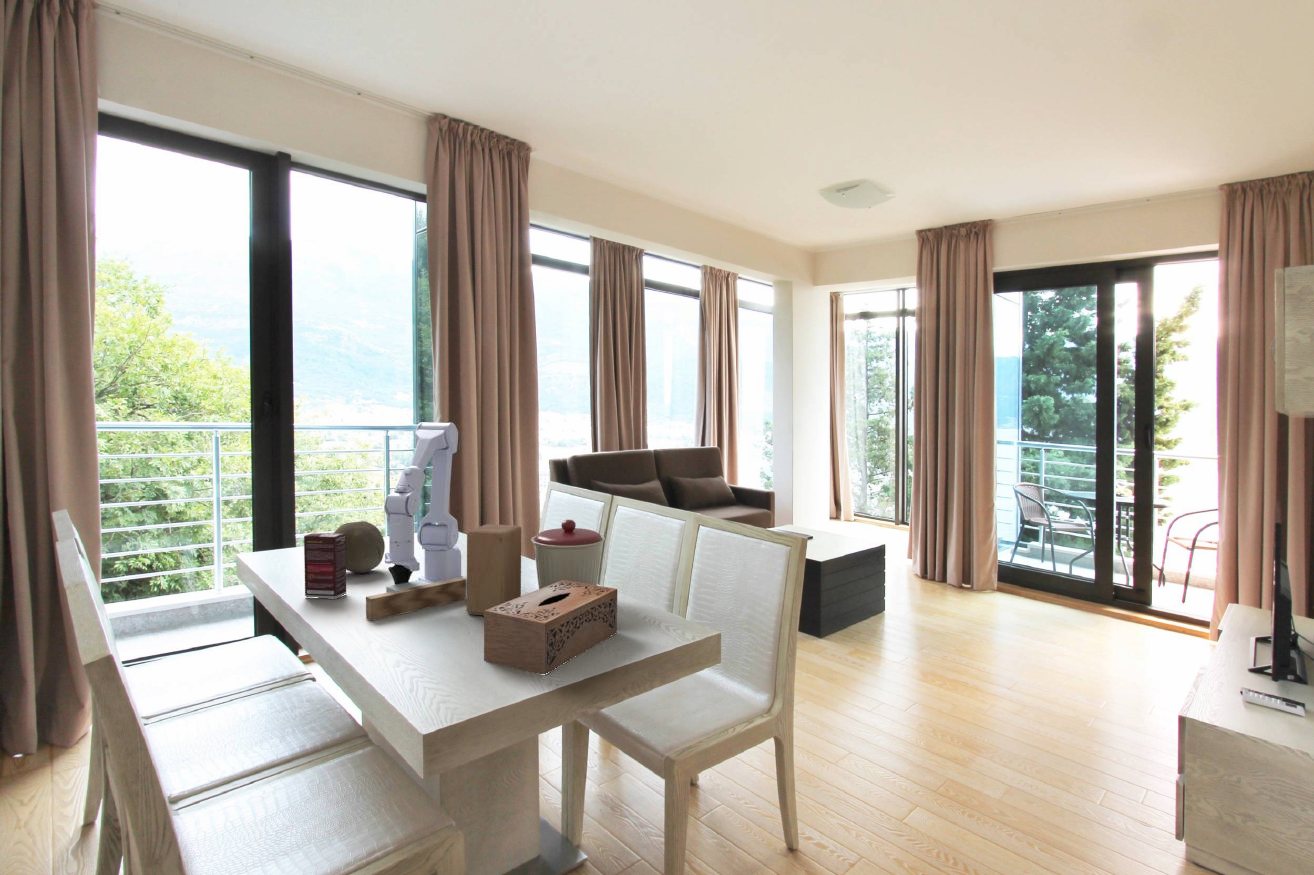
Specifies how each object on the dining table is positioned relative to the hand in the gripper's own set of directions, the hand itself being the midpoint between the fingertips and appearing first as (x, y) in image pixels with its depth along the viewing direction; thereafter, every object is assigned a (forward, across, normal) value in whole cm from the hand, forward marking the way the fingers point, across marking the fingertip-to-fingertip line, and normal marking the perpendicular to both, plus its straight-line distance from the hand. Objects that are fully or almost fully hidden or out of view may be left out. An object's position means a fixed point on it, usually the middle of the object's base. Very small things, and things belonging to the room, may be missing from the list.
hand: (401, 594), depth 161 cm
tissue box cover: (+2, +51, +8) cm, 51 cm away
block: (+2, +4, 0) cm, 4 cm away
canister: (+2, +31, +28) cm, 42 cm away
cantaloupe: (+2, -33, +3) cm, 33 cm away
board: (+2, +9, 0) cm, 9 cm away
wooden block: (+2, +23, +12) cm, 26 cm away
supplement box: (+2, -16, -12) cm, 20 cm away
